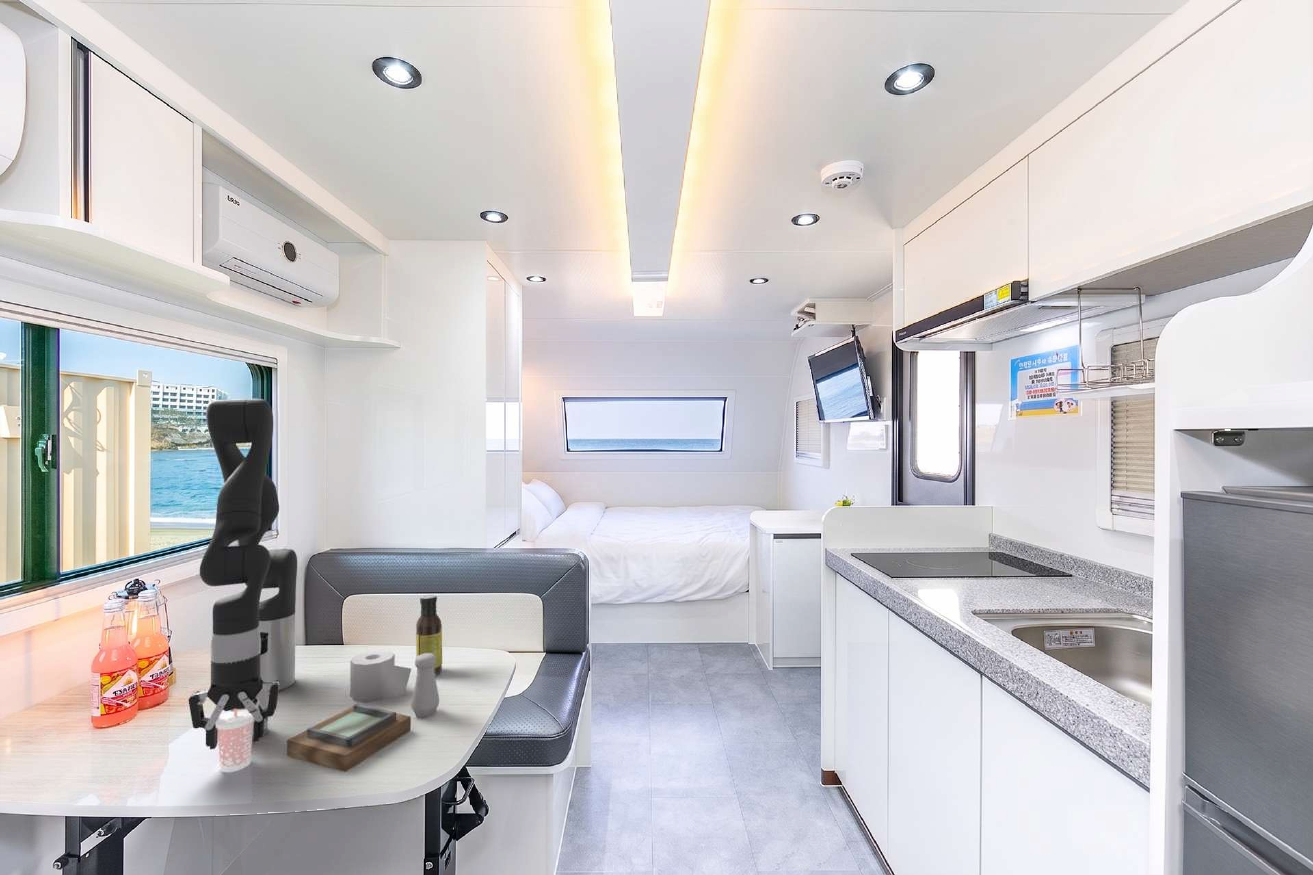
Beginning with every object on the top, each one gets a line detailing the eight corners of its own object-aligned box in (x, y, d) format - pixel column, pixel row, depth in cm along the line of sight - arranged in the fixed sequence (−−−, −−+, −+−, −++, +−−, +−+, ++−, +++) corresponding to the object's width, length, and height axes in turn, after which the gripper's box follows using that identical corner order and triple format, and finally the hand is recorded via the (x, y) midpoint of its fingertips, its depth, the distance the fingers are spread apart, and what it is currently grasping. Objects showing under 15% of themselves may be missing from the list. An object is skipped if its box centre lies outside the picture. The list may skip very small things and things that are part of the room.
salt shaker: (429, 721, 126) (429, 661, 126) (405, 718, 127) (405, 659, 127) (444, 709, 132) (444, 651, 132) (421, 706, 133) (421, 649, 133)
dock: (287, 755, 112) (287, 732, 112) (356, 718, 127) (356, 697, 127) (345, 771, 107) (345, 747, 107) (410, 730, 122) (410, 709, 122)
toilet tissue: (412, 693, 140) (412, 657, 140) (349, 704, 134) (349, 667, 134) (410, 679, 148) (410, 645, 148) (350, 689, 142) (350, 653, 142)
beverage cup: (229, 777, 105) (230, 699, 105) (207, 770, 107) (207, 694, 107) (263, 760, 111) (263, 686, 111) (240, 753, 113) (241, 681, 113)
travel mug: (276, 729, 122) (277, 633, 122) (245, 745, 116) (245, 644, 116) (255, 724, 125) (255, 630, 124) (223, 739, 118) (223, 640, 118)
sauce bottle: (447, 671, 153) (447, 595, 153) (427, 680, 147) (428, 601, 147) (430, 666, 156) (430, 591, 156) (410, 675, 151) (410, 597, 150)
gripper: (181, 666, 102) (181, 762, 102) (278, 654, 108) (277, 745, 108) (194, 652, 109) (194, 742, 109) (284, 641, 115) (284, 726, 115)
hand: (235, 743), depth 109 cm, fingers closed on beverage cup, 6 cm apart
